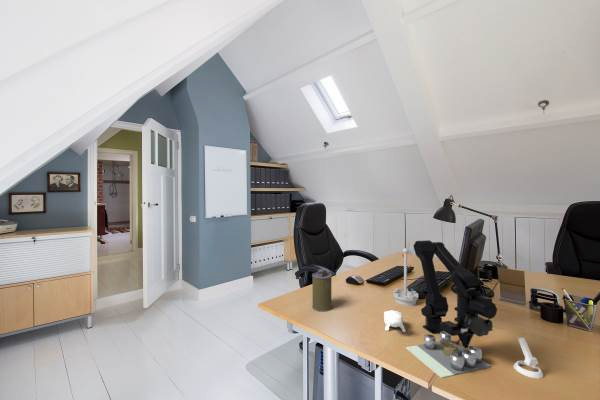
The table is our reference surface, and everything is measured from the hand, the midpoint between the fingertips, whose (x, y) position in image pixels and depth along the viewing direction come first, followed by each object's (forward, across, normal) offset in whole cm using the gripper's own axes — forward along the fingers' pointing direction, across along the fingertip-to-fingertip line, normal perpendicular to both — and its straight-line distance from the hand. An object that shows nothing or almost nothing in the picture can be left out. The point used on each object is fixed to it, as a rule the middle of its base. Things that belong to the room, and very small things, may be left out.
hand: (465, 347), depth 104 cm
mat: (+1, -10, -1) cm, 11 cm away
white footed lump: (+2, -16, +22) cm, 27 cm away
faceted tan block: (+1, -8, 0) cm, 8 cm away
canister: (+2, -38, +53) cm, 66 cm away
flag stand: (+2, +8, +47) cm, 48 cm away
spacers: (+1, -7, -1) cm, 7 cm away
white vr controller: (+2, +10, -15) cm, 18 cm away
